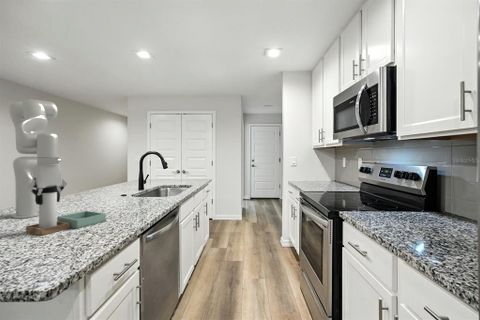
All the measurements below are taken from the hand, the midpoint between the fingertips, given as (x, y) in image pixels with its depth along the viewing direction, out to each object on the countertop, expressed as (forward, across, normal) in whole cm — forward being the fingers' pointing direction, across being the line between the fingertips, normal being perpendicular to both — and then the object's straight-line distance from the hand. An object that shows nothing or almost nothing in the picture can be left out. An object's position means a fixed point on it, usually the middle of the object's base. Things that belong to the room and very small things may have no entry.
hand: (48, 202), depth 114 cm
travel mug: (+12, 0, 0) cm, 12 cm away
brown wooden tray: (+12, 0, 0) cm, 12 cm away
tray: (+12, -14, +2) cm, 19 cm away
